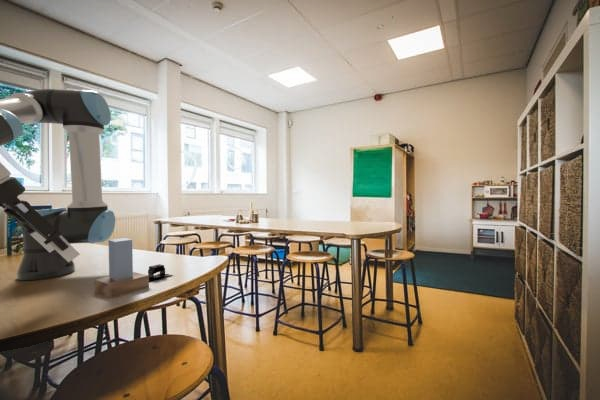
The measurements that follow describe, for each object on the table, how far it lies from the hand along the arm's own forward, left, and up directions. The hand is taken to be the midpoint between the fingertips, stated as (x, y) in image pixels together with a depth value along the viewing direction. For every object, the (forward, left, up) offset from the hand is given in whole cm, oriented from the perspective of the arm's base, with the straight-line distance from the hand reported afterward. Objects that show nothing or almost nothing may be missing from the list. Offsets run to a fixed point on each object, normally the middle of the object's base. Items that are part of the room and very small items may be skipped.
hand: (64, 253), depth 72 cm
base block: (+1, +13, -13) cm, 19 cm away
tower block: (+1, +13, -9) cm, 16 cm away
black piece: (-1, +24, -14) cm, 28 cm away
